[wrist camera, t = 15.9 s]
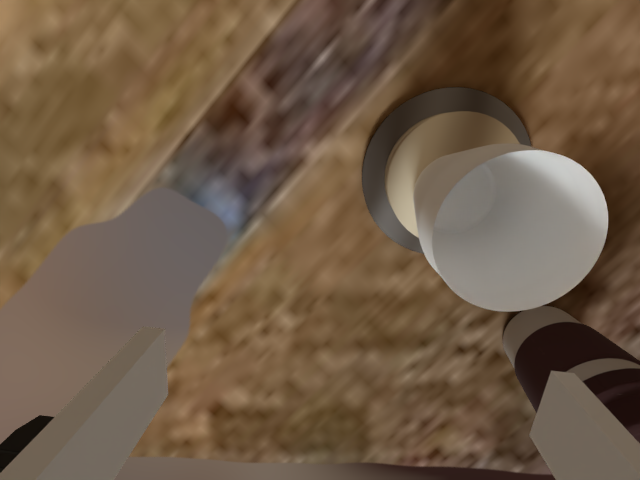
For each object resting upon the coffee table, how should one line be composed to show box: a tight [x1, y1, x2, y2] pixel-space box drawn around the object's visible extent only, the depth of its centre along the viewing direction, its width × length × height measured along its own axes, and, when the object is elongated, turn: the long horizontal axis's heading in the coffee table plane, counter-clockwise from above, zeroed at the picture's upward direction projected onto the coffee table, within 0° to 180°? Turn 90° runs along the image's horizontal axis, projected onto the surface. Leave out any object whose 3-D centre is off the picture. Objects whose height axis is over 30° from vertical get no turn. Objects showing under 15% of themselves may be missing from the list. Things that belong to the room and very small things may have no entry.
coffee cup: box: [503, 306, 640, 443], centre depth 31 cm, size 10×10×15 cm
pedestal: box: [362, 87, 531, 254], centre depth 32 cm, size 15×15×4 cm
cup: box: [413, 143, 608, 312], centre depth 25 cm, size 9×9×12 cm
